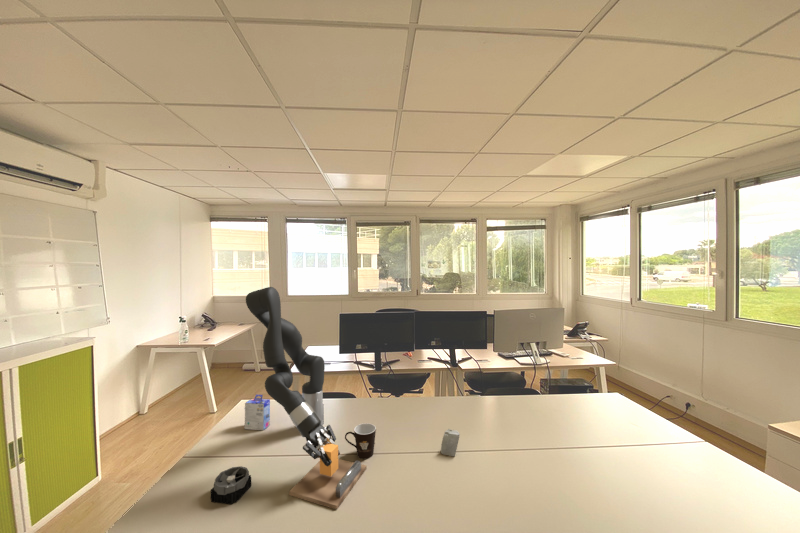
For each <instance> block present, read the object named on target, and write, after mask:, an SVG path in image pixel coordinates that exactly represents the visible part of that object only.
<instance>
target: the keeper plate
mask: <svg viewBox="0 0 800 533" xmlns="http://www.w3.org/2000/svg"><path fill="white" fill-rule="evenodd" d="M367 466H368V465H366V464H362V462H361V461H360V460H355V461H354V462H353V461H349V460H345V459H341V458H338V469H337V470H336V472H335V473H334V474H333V475H332V476H327V475H323V474H320V460H319V461H318V462H317V463H316V464H315V465H314V466H313V467H312V468H311V469H310V470H309V471H308V472H307V473H305V474H304V476H303V477H302V478H301V479H300V480H299V481H298V482H297V483H296V484H295V485H294V486H293V487H292V488H291V489H290V490H289V491H288V495H289V496H291V497H294V498H298V499H301V500H305V501H307V502H309V503H314V504H317V505H320V506H324V507H327V508H329V509H330V508H331V509H334V510H338V509H339V508H340V506H341V505H342V504H343V502H344V501H345V499H346V498H347V497H348V495H349V494H350V492H351V491H352V490H353V489H354V487H355V485H356V484H357V483H358V482H359V480H360V479H361V477H362V476H363V475H364V473H365V472H366V470H367Z"/></svg>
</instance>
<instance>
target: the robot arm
mask: <svg viewBox="0 0 800 533" xmlns="http://www.w3.org/2000/svg"><path fill="white" fill-rule="evenodd" d="M245 304H246V306H247V308H248V310H249V312H250V313H252V315H253V316H254V317H255V318H256V319H257V321H259V322H260V323H261V324H263V326H264V327H265V328H266V329H267V330H266V332H265V335H264V338H263V343H262V351H263V357H264V362H265V363H264V364H265V366H266V367H267V368H271V369H273V371H274V373H273V374H270V375H269V376H268V377H266V379H265V381H264V388H265V391H266V393H267V395H268V396H270V397H271V399H273V400H275V402H277V403H278V405H280V406H282V408H283V409H284V411H285V412H286V414H287V415H288V416H289V418H290V420H291V422H292V424H293V425H294V427H295V429H297V431H298V433H299V434H300V435H301V436H302V438H305V440H306V443H304V445H302V450H303V451H304V452H306V453H307V454H308V455H309V456H310V457H311V458H312V459H313V460H317V459H318V458H319V460H320V459H321V460H322V461H323V463H324V464H325V465H326V466H329V465H330V464H331V463H332V461H331V460H330V458H329V457H328V455H327V454H326V453H325V451H324V449H323V446H324V445H325V444H327V443H331V444H335V443H336V440H337V437H336V435H335V433H334V431H333V428H332V426H331V424H328V425H326V426H324V423H325V415H324V414H325V410H324V409H325V408H324V405H325V404H324V403H323V402H324V400H323V399H324V397H323V395H324V394H323V386H324V381H325V367H326V365H325V360H324V358H323V357H322V356H321V355H320V356H318V355H312V354H309V353H308V352H306V350H305V349H304V348H303V336H302V334H301V332H300V331H299V329H298V328H297V326H296V325H295V324H294V323H293V322H292V321H290V320H287V319H285V318H283V317H282V309H281V308H282V306H281V304H282V302H281V296H280V294H279V292H278V290H277V289H276V288H275V287H273V286H267V287H264V288H261V289H257V290H254V291H250V292H249V293H248V294H246V297H245ZM285 353H286V354H287V355H288V357H289V358H290V359H291V361H292V362H293V364H294V366H295V367H296V369H297V371H298V372H299V373H300V374H301V375H302V376H306V377H307V376H308V377H309V381H307V382H305V383H304V384H302V385H301V386H302V387H301V393H300V391H299V390H291V389H290V388H291V387H292V385H293V382H294V376H293V372H292V370H291V367H290V364H289V363H288V361H287V359H286V355H285ZM335 445H336V444H335ZM340 454H341V452H340V449H338V457H339V456H340Z"/></svg>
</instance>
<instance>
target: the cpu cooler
mask: <svg viewBox="0 0 800 533" xmlns="http://www.w3.org/2000/svg"><path fill="white" fill-rule="evenodd" d="M213 482H214V483H213V487H212V488H211V489H210V501H211V503H218V504H224V505H225V504H226V505H233V504H234V503H237V502H239V501H240V499H241V498H242V497H243V496H244V495H245V494H246V493H247V492H248V490H250V489H251V487H252V475H251V474H250V471H249V469H248V468H247V467H245V466H243V465H240V466H239V465H238V466H233V467H230V468H228V469H226V470H223V471H221V472H220V473H219V474H218V475H217V476H216V477H215V479H214V481H213Z"/></svg>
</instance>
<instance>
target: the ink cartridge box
mask: <svg viewBox="0 0 800 533" xmlns="http://www.w3.org/2000/svg"><path fill="white" fill-rule="evenodd" d="M270 415H271V399H268V398H267V399H266V398H263V394H255V397H254V398H251V399H249V400H248V401H246V402H245V403H244V430H254V431H255V430H256V431H257V430H258V431H264V430H265V429H267V428H268V427H270V425H271V421H270V420H271V418H270V417H271V416H270Z"/></svg>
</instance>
